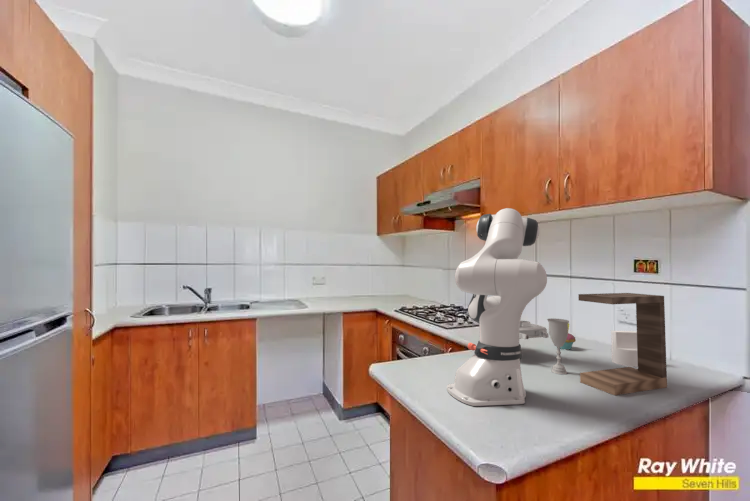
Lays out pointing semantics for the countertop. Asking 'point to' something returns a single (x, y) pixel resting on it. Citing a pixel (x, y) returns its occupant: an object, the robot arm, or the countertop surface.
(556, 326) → the chalice
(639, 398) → the countertop surface
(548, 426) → the countertop surface
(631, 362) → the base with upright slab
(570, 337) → the cupcake
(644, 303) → the wooden c-shaped stand
